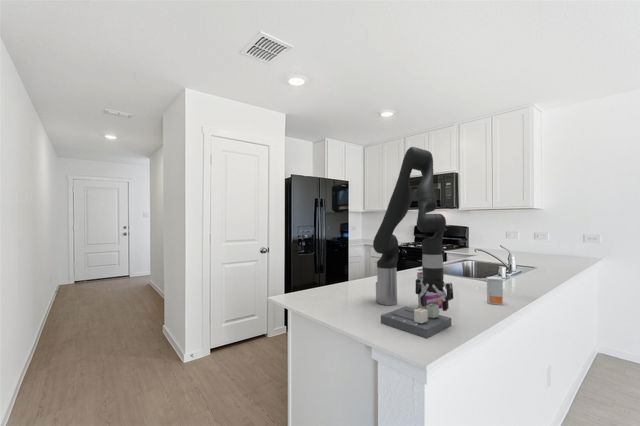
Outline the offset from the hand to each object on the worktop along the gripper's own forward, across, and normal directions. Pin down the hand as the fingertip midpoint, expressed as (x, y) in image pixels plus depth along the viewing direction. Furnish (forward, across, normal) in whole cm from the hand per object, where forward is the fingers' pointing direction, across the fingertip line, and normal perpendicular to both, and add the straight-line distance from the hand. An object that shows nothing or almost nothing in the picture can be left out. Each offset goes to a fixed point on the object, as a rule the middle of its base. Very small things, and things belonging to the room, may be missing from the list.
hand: (434, 308), depth 115 cm
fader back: (+3, 0, 0) cm, 3 cm away
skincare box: (+7, -5, -46) cm, 46 cm away
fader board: (+6, +6, +4) cm, 10 cm away
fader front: (+3, +1, +8) cm, 9 cm away
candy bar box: (+7, +12, -19) cm, 23 cm away
